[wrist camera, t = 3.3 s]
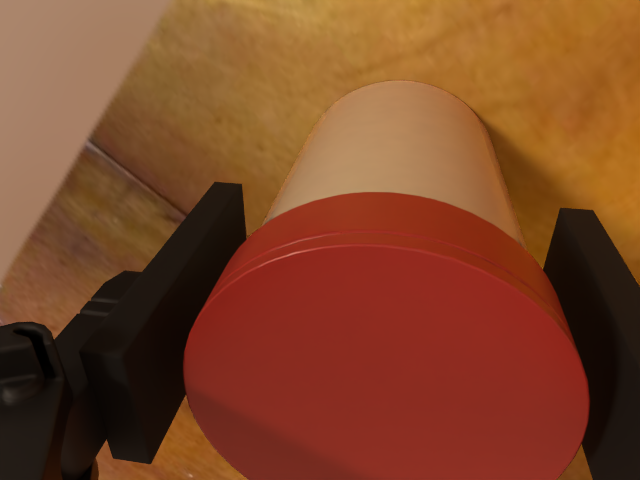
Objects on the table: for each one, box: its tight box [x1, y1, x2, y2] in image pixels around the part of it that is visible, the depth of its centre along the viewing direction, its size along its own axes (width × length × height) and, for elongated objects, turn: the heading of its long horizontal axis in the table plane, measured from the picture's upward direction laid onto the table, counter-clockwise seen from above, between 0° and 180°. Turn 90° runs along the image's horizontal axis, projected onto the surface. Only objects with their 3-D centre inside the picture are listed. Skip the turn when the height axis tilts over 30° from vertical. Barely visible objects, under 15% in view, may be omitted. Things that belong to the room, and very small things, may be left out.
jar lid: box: [183, 192, 590, 480], centre depth 10 cm, size 7×7×2 cm
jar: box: [260, 80, 528, 252], centre depth 13 cm, size 6×6×10 cm
